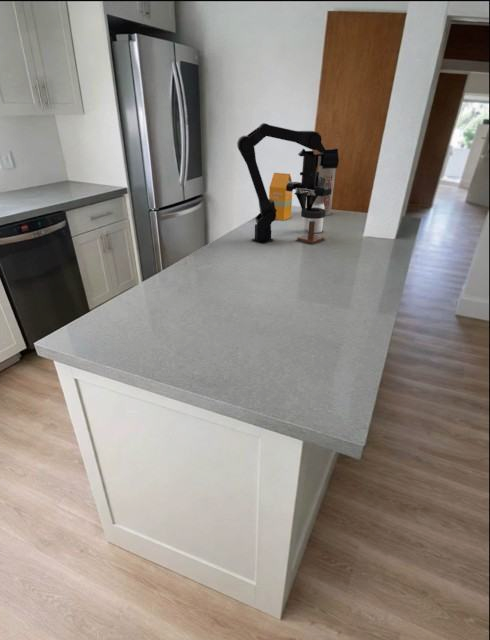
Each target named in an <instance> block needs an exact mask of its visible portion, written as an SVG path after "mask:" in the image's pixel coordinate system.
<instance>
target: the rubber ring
mask: <svg viewBox="0 0 490 640" xmlns="http://www.w3.org/2000/svg"><path fill="white" fill-rule="evenodd" d="M300 217H301V218H304V219H309V218H310V219H319V218H323V217H324V218H325V217H326V215H325V210H324V209H321V208H311V210H310V211H307V207H306V208H304V209H302V208H301V213H300ZM324 218H323V219H324Z"/></svg>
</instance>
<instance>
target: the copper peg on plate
mask: <svg viewBox="0 0 490 640" xmlns="http://www.w3.org/2000/svg"><path fill="white" fill-rule="evenodd" d="M314 229H315V221H309V230H308V229H307V234H305V235H302V236H298V237H297V238H296V241H298V242H301V243H306V244H309V245H314V244H317V243H320V242H324V240H325V237H324V236H319V235H315V233H314Z"/></svg>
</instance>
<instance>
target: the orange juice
mask: <svg viewBox="0 0 490 640" xmlns="http://www.w3.org/2000/svg"><path fill="white" fill-rule="evenodd" d="M291 182H293V180H292V177H291V174H290V173H283V172H273V175H272V177H271V181H270V184H269V190H268V199H269V200H270V199H272V200H273V201H274V204H275V209H276V210H277V212H276V218H275V220H277V221H286V220H288V219H291V217H292V203H293V191H286V186H287V184H288V183H291Z"/></svg>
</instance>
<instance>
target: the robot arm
mask: <svg viewBox="0 0 490 640" xmlns="http://www.w3.org/2000/svg"><path fill="white" fill-rule="evenodd" d="M266 137H268V138H273V139H278V140H282V141H287V142H291V143H292V142H293V143H295V144H298V145H300V146H302V147H305V148H306V149H309V150H306V149H305V148H302V149H301V150H300V151H299V152H298V153H297V155H298V156H299V157H302V171H300V172H299V176H301V182H299V181H292V182H291V183H288V184H287V186H286V191H292V192H293V191H294V190H295V192H294V196H296V198H297V201H298V203H299V206H300V208H301V210H302V209H304V208H307V211H310V210H311V208H312V206H313V203H314V201H316V198H317V197H318V196H327V195H331V187H329V186H324V184H325V181H326V179H324V178H322V177H320V176H319V171H318V169H319V166H321V168H322V169H336V170H337V169H338V166H339V161H340V159H339V149H338V148H336V147H334V148H325V145H324V144H323V143H322V135H321V134H320V133H319V132H317V131H315V130H294V129H290V128H286V127H280V126H276V125H272V124H268V123H265V122H262V123H261V124H260V125H259V126H258V127H257V128H255V129H254V130H252V131H251V132H250V133H248V134H247V135H241V136H240V137H238V140H237V143H236V145H237V149H238V151H239V153H240V155H241V157H242V159H243V161H244V162H245V164H246V166H247V169H248V172H249V175H250V178H251V182H252V184H253V187H254V190H255V191H254V192H255V193H256V196H257V199H258V207H259V213H258V215H256V217H255V218H254V219H255V223H256V224H254V238H251V241H252V242H256V243H260V244H266V243H268V242H272V241H274V238H272V223H273V222H275V220H276V219H275V218H276V212H277V210H276V209H275V204H274V201H273V200H272V199H270V200H269V196H268V194H267V191H266V187H265V184H264V182H263V179H262V175H261V172H260V169H259V166H258V163H257V158H256V149H255V147H256V146H257V145H258V144H259V143H260V142H261V141H262V140H264V139H265V138H266ZM315 152H318V153H315Z"/></svg>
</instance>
